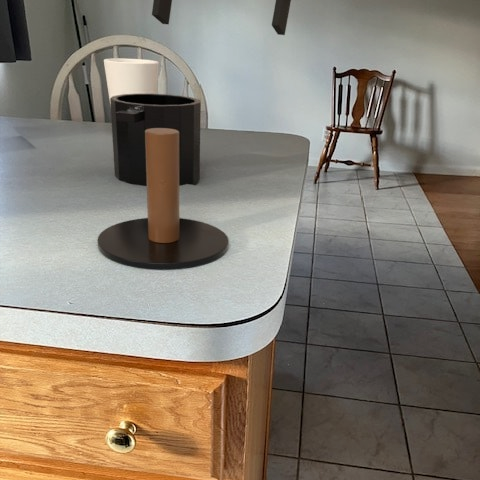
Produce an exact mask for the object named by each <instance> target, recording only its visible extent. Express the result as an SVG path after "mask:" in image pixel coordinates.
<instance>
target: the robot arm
mask: <svg viewBox="0 0 480 480" xmlns="http://www.w3.org/2000/svg"><path fill="white" fill-rule="evenodd" d="M291 2H292V0H275V3H274V9H273V15H272V19H271V20H272V21H271V27H272V28H273V29H274V31H275V33H276V34H277V35H278V36H279V35H280V36H285V35H286V30H287V24H288V19H289V13H290V9H291V4H292V3H291ZM172 3H173V0H153V3H152V10H151V16H153V17H154V18H155V19H156V20H157V21H159V22H160V23H161V24H162V25H168V26H169V24H170V17H171V11H172Z"/></svg>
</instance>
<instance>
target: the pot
mask: <svg viewBox="0 0 480 480" xmlns="http://www.w3.org/2000/svg"><path fill="white" fill-rule="evenodd" d="M201 101H202V100H201V99H198V98H195V97H190V96H186V95H185V96H184V95H176V94H167V93H166V94H165V93H157V94H122V95H117V96H112V97H111V98H110V100H109V104H110V103H111V106H110V119H111V134H112V151H113V166H114V167H113V168H114V177H115V178H116V179H117V180H118V181H120V182H123V183H125V184H129V185H134V186H141V187H147V178H146V147H145V130H147V129H151V128H169V129H175V130H177V131H179V187H180V186H185V185H189V186H190V185H191V186H197V185H198V184H199V182H200V180H201V179H200V177H201V176H200V173H201V172H200V169H201V168H200V167H201V117H202V115H201V109H202V108H201V106H202V105H201V104H202V102H201Z"/></svg>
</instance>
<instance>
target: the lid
mask: <svg viewBox="0 0 480 480" xmlns="http://www.w3.org/2000/svg"><path fill="white" fill-rule="evenodd" d="M145 147H146V178H147V186H146V204H147V205H146V206H147V207H146V209H147V217H143V218H135V219H129V220H126V221H121V222H118V223H115V224H113V225H110V226H109V227H107V228H105V229H104V230H103V231H101V232H100V233H99V235H98V237H97V249H98V250H99V253H101V254H102V255H103V256H104V257H105V258H107V259H109V260H110V261H113V262H116V263H118V264H121V265H124V266H128V267H133V268H140V269H145V270H181V269H190V268H195V267H200V266H203V265H206V264H209V263H212V262H215V261H216V260H218V259H220V258H221V257H222V256H224V255H225V254H226V253H227V252H228V249H229V237H228V236H227V234H226V233H225V232H224V231H223V230H221V229H220V228H218V227H217V226H215V225H212V224H209V223H205V222H203V221H199V220H194V219H189V218H182V217H180V186H179V131H177V130H175V129H169V128H151V129H147V130H145Z"/></svg>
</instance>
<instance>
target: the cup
mask: <svg viewBox="0 0 480 480" xmlns="http://www.w3.org/2000/svg"><path fill="white" fill-rule="evenodd" d="M103 64H104V73H105V79H106V85H107V92H108V99H109V101H110V98H111V97H112V96H117V95H122V94H158V82H159V70H160V69H159V68H160V62H159V61H157V60H152V59H144V58H142V59H141V58H123V57H122V58H121V57H119V58H118V57H117V58H116V57H115V58H113V57H112V58H104V59H103ZM109 106H110V107H111V103H110V102H109Z"/></svg>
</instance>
